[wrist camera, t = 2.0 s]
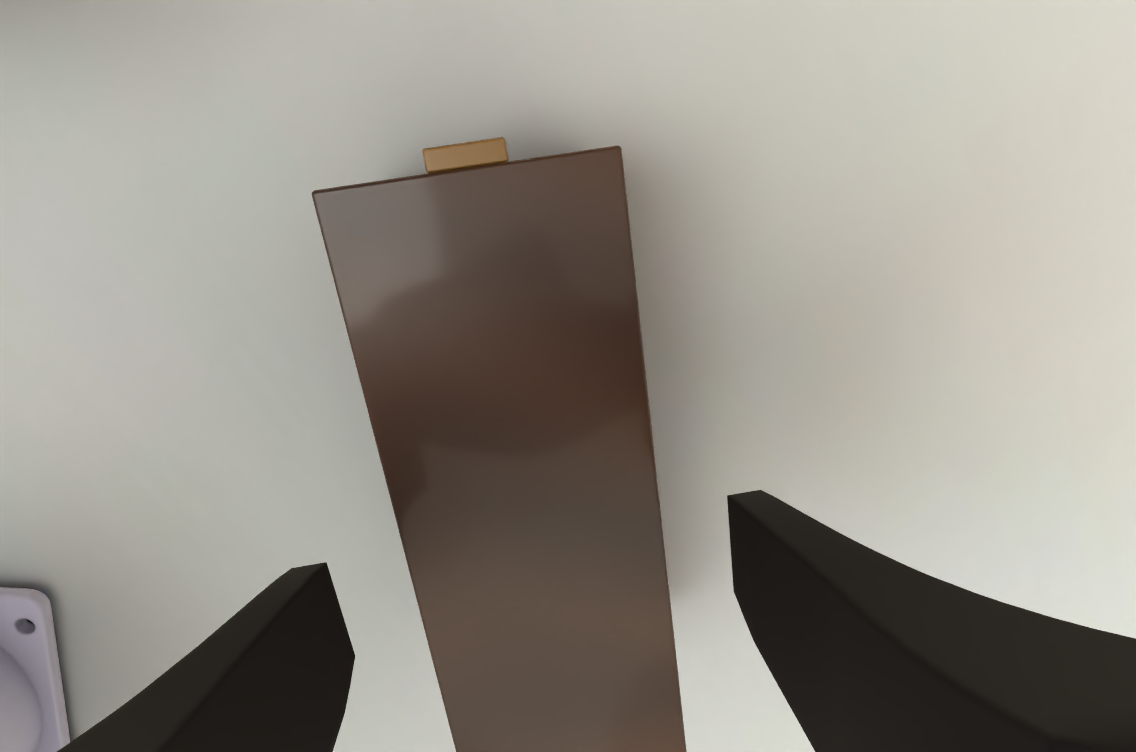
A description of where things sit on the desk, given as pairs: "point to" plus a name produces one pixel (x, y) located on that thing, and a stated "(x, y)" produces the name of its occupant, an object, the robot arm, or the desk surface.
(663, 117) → the desk surface
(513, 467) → the pencil box
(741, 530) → the robot arm
